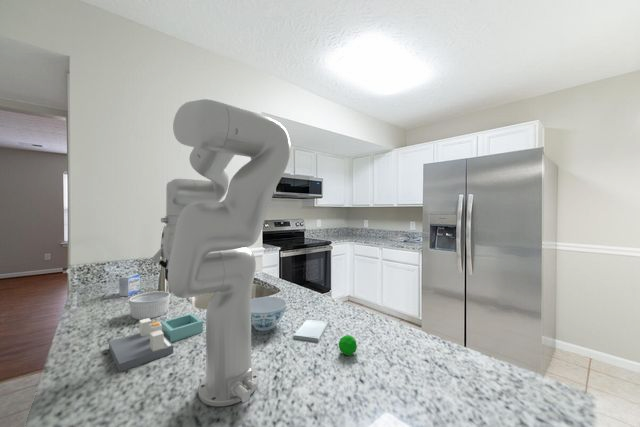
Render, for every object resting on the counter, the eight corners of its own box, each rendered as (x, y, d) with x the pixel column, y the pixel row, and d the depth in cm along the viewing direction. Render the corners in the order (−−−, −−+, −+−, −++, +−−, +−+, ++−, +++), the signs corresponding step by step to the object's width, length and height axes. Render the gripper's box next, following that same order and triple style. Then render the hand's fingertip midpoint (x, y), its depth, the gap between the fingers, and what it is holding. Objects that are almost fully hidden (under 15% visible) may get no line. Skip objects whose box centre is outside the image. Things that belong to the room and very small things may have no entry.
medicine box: (128, 296, 120) (128, 277, 120) (118, 296, 120) (118, 277, 120) (140, 291, 128) (140, 273, 128) (131, 291, 128) (131, 273, 128)
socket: (202, 331, 84) (202, 321, 84) (170, 342, 77) (170, 330, 77) (191, 323, 91) (191, 313, 91) (161, 332, 84) (160, 321, 84)
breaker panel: (173, 352, 72) (173, 331, 72) (119, 372, 63) (119, 347, 63) (156, 334, 83) (156, 315, 83) (108, 348, 74) (108, 327, 74)
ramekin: (173, 306, 108) (173, 289, 108) (165, 318, 95) (165, 299, 95) (136, 310, 103) (136, 292, 103) (122, 323, 91) (122, 304, 91)
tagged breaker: (162, 338, 76) (161, 323, 76) (152, 341, 74) (152, 326, 74) (159, 335, 78) (158, 320, 78) (149, 338, 76) (149, 323, 76)
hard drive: (318, 338, 78) (328, 321, 90) (293, 335, 80) (306, 318, 92) (318, 344, 78) (328, 326, 90) (293, 340, 80) (306, 323, 92)
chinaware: (254, 315, 97) (254, 295, 97) (292, 319, 94) (292, 298, 94) (233, 334, 83) (232, 310, 83) (277, 339, 79) (277, 314, 79)
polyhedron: (353, 348, 74) (353, 331, 74) (359, 357, 69) (359, 340, 69) (336, 349, 73) (336, 333, 73) (341, 359, 68) (341, 341, 68)
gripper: (152, 223, 71) (151, 288, 72) (212, 221, 84) (212, 276, 84) (144, 221, 76) (144, 282, 77) (203, 220, 89) (202, 272, 89)
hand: (180, 278), depth 81 cm, fingers closed on lightbulb, 5 cm apart
